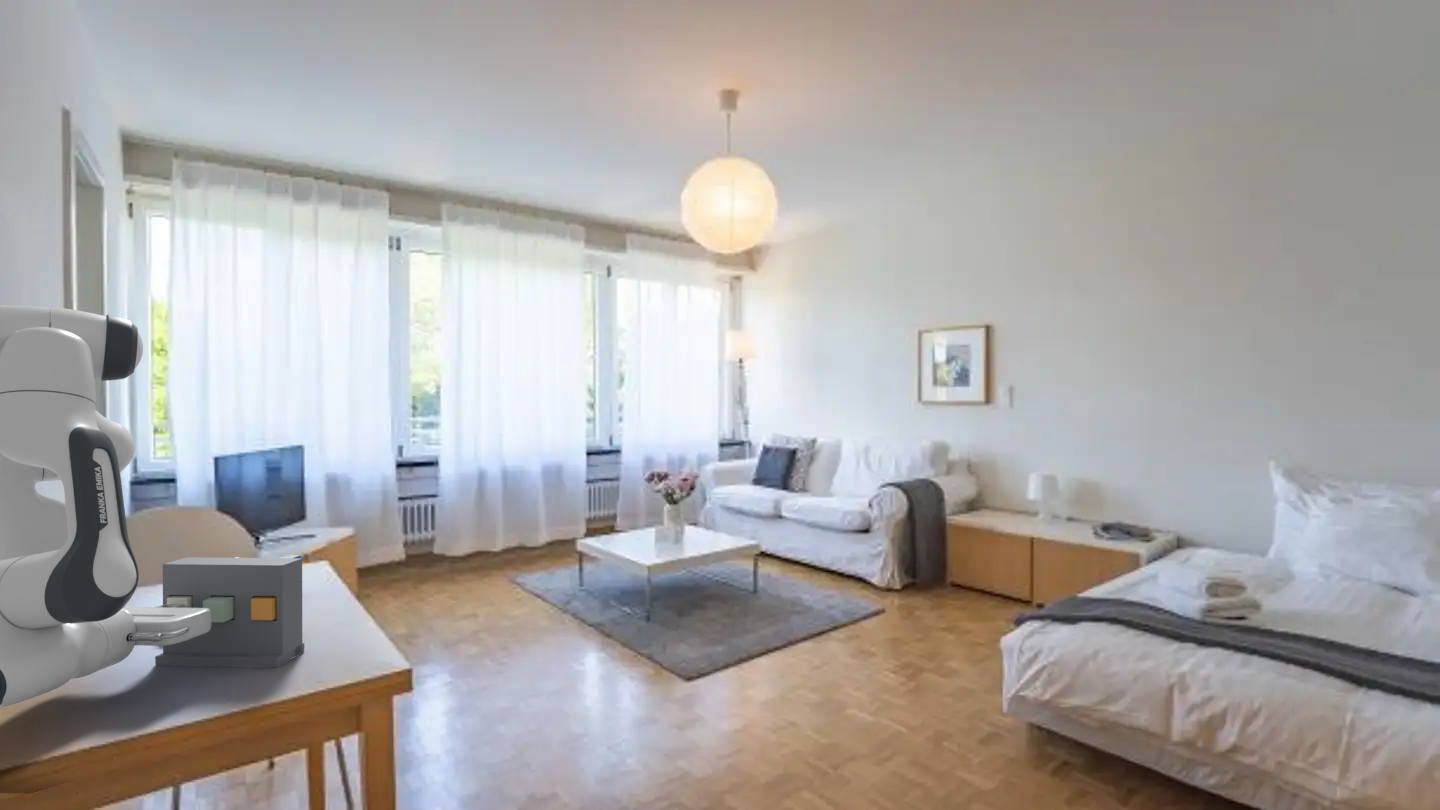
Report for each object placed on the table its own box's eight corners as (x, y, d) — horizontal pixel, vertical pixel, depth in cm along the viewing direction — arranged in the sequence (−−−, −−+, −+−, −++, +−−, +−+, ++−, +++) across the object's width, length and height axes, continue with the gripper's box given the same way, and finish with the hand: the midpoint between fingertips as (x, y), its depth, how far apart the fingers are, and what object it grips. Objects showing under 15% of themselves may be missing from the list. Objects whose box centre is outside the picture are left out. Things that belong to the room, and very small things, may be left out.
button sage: (202, 621, 111) (202, 600, 111) (217, 616, 114) (217, 595, 114) (223, 622, 111) (223, 601, 111) (237, 616, 114) (237, 595, 114)
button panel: (155, 665, 112) (154, 566, 112) (190, 650, 119) (189, 556, 119) (276, 667, 111) (276, 567, 111) (304, 651, 118) (304, 557, 118)
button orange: (251, 620, 112) (251, 599, 112) (264, 614, 115) (263, 593, 115) (271, 620, 112) (271, 599, 112) (284, 614, 115) (284, 594, 115)
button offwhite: (167, 618, 113) (166, 597, 113) (182, 613, 116) (181, 592, 116) (187, 619, 113) (187, 598, 113) (201, 613, 116) (201, 593, 116)
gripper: (168, 616, 98) (239, 590, 112) (28, 614, 99) (116, 588, 113) (168, 661, 98) (239, 629, 112) (28, 658, 99) (116, 627, 113)
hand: (176, 608), depth 113 cm, fingers closed, pressing on button offwhite
